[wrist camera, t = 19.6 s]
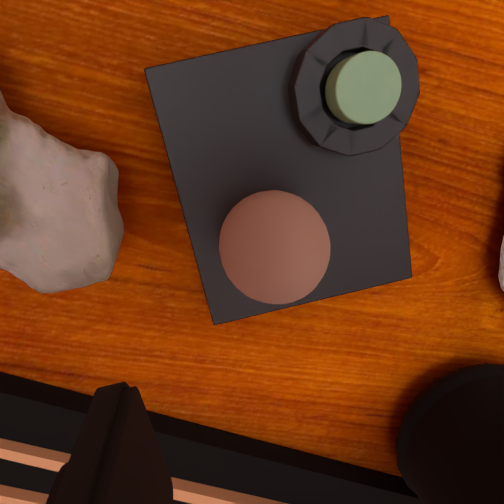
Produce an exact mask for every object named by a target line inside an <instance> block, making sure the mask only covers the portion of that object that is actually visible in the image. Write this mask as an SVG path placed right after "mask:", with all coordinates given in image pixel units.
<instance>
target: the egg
mask: <svg viewBox="0 0 504 504" xmlns="http://www.w3.org/2000/svg"><path fill="white" fill-rule="evenodd" d="M219 252H220V257H221V262H222V266H223V268H224V270H225V272H226V274H227V276H228V278H229V279H230V280H231V282H232V283H233V284H234V285H235V287H236V288H237V289H239V290H240V291H241V292H242V293H243V294H245V295H246V296H248V297H250V298H252V299H254V300H257V301H260V302H263V303H269V304H287V303H292V302H294V301H297V300H299V299H301V298H304V297H305V296H306V295H308V294H309V293H310V292H312V291H313V290H314V289H315V288H316V286H317V285H318V284H319V282H320V281H321V279H322V278H323V276H324V274H325V272H326V269H327V266H328V263H329V260H330V238H329V235H328V231H327V228H326V225H325V223H324V222H323V220H322V218H321V217H320V215H319V213H318V212H317V211H316V210H315V209H314V208H313V207H312V205H310V204H309V203H307V202H306V201H305V200H303V199H302V198H301V197H299V196H296V195H294V194H291V193H288V192H284V191H280V190H270V191H263V192H257V193H255V194H252V195H250V196H248V197H246V198H244V199H243V200H241V201H240V202H239V203H238V204H237V205H235V206H234V207H233V208H232V210H231V211H230V212H229V214H228V215H227V217H226V219H225V221H224V223H223V225H222V228H221V232H220V239H219Z"/></svg>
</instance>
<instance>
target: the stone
mask: <svg viewBox="0 0 504 504" xmlns="http://www.w3.org/2000/svg"><path fill="white" fill-rule="evenodd" d="M498 277H499V282H500V287H501V289H502V290H503V291H504V236H503V240H502V245H501V250H500V264H499V273H498Z"/></svg>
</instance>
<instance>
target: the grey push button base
mask: <svg viewBox="0 0 504 504" xmlns="http://www.w3.org/2000/svg"><path fill="white" fill-rule="evenodd" d="M364 51H378V52H381V53H383V54H385V55H387V56H388V57H390V58H391V59H392V60H393V61H394V63H395V64H396V66H397V67H398V70H399V72H400V76H401V93H400V97H399V100H398V102H397V104H396V106H395V108H394V109H393V110H392V112H391V113H390V114H389V115H388V116H386V117H385V118H384V119H382V120H381V121H378V122H376V123H373V124H352V123H346V122H343V121H341V120H339V119H338V118H337V117H335V116H334V115H333V114H332V112H331V111H330V109H329V107H328V105H327V102H326V98H325V86H326V81H327V78H328V76H329V74H330V72H331V71H332V69H333V68H334V67H335V66H336V65H337V64H338V63H339V62H340V61H342V60H343V59H345V58H347V57H350V56H353V55H355V54H358V53H361V52H364ZM144 71H145V75H146V79H147V82H148V86H149V90H150V93H151V97H152V101H153V104H154V108H155V112H156V115H157V119H158V123H159V126H160V130H161V134H162V137H163V141H164V145H165V149H166V152H167V156H168V160H169V163H170V167H171V171H172V174H173V178H174V182H175V185H176V189H177V193H178V196H179V200H180V204H181V207H182V211H183V215H184V218H185V222H186V226H187V229H188V233H189V237H190V240H191V244H192V248H193V251H194V255H195V259H196V262H197V266H198V270H199V273H200V277H201V281H202V284H203V288H204V292H205V295H206V299H207V303H208V306H209V310H210V314H211V317H212V321H213V324H214V325H217V324H221V323H226V322H230V321H234V320H238V319H242V318H246V317H251V316H255V315H259V314H263V313H267V312H271V311H275V310H280V309H284V308H288V307H292V306H296V305H300V304H305V303H309V302H313V301H317V300H321V299H325V298H330V297H334V296H338V295H342V294H346V293H350V292H355V291H359V290H363V289H367V288H371V287H375V286H380V285H384V284H388V283H392V282H396V281H400V280H404V279H409V278H412V270H411V259H410V247H409V236H408V225H407V214H406V202H405V191H404V180H403V169H402V158H401V146H400V135H399V133H400V132H401V131H402V130H403V129H404V128H405V126H406V125H407V123H408V121H409V118H410V116H411V114H412V111H413V109H414V106H415V104H416V101H417V99H418V96H419V93H420V91H419V77H418V63H417V59H416V56H415V55H414V53H413V52H412V50H411V49H410V47H409V46H408V44H407V43H406V41H405V40H404V38H403V37H402V35H401V34H400V32H399V31H398V30H397V29H396V28H393V27H391V26H390V23H389V16H388V15H386V16H382V17H377V18H373V19H372V18H369V17H362V18H358V19H353V20H349V21H344V22H339V23H335V24H333V25H331V26H329V27H328V28H326V29H322V30H318V31H313V32H308V33H304V34H299V35H295V36H290V37H286V38H281V39H276V40H272V41H267V42H263V43H258V44H254V45H249V46H244V47H240V48H235V49H231V50H226V51H222V52H217V53H212V54H208V55H203V56H199V57H194V58H190V59H185V60H180V61H176V62H171V63H167V64H162V65H157V66H153V67H148V68H145V69H144ZM270 190H280V191H284V192H288V193H291V194H294V195H296V196H299V197H301V198H302V199H303V200H305V201H306V202H307V203H309V204H310V205H312V207H313V208H314V209H315V210H316V211H317V212H318V213H319V215H320V217H321V218H322V220H323V222H324V223H325V225H326V228H327V231H328V235H329V238H330V260H329V263H328V266H327V269H326V272H325V274H324V276H323V278H322V279H321V281H320V282H319V284H318V285H317V286H316V288H315V289H314V290H313V291H312V292H310V293H309V294H308V295H306V296H305V297H304V298H301V299H299V300H297V301H294V302H292V303H287V304H269V303H263V302H260V301H257V300H254V299H252V298H250V297H248V296H246V295H245V294H243V293H242V292H241V291H240V290H239V289H237V288H236V287H235V285H234V284H233V283H232V282H231V280H230V279H229V278H228V276H227V274H226V272H225V270H224V268H223V266H222V262H221V257H220V252H219V239H220V232H221V228H222V225H223V223H224V221H225V219H226V217H227V215H228V214H229V212H230V211H231V210H232V208H233V207H234V206H235V205H237V204H238V203H239V202H240V201H241V200H243V199H244V198H246V197H248V196H250V195H252V194H255V193H257V192H263V191H270Z"/></svg>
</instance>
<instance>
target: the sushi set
mask: <svg viewBox="0 0 504 504" xmlns="http://www.w3.org/2000/svg"><path fill="white" fill-rule="evenodd" d="M92 399H93V397H92V396H89V395H85V394H81V393H77V392H74V391H70V390H66V389H62V388H58V387H55V386H51V385H47V384H43V383H39V382H36V381H32V380H28V379H24V378H21V377H17V376H13V375H9V374H5V373H2V372H0V504H46V501H47V499H48V496H49V494H50V491H51V489H52V486H53V484H54V481H55V479H56V476H57V474H58V472H59V470H60V468H61V467H62V466H63V465H64V464H65V463H68V462H69V459H70V457H71V454H72V451H73V449H74V446H75V443H76V441H77V438H78V436H79V433H80V430H81V428H82V425H83V423H84V420H85V417H86V415H87V412H88V410H89V407H90V404H91V402H92ZM147 414H148V417H149V420H150V422H151V425H152V428H153V430H154V433H155V436H156V438H157V441H158V444H159V447H160V449H161V452H162V455H163V457H164V460H165V463H166V465H167V468H168V471H169V474H170V476H171V479H172V484H173V504H422V502H421V501H420V499H419V497H418V495H417V494H416V493H415V492H413V491H412V490H411V489H410V488H409V487H408V486H407V484H406V482H405V480H404V479H403V478H399V477H395V476H392V475H388V474H384V473H380V472H376V471H373V470H369V469H365V468H361V467H358V466H354V465H350V464H346V463H342V462H339V461H335V460H331V459H327V458H323V457H320V456H316V455H312V454H308V453H305V452H301V451H297V450H293V449H289V448H286V447H282V446H278V445H274V444H270V443H267V442H263V441H259V440H255V439H252V438H248V437H244V436H240V435H236V434H233V433H229V432H225V431H221V430H217V429H214V428H210V427H206V426H202V425H199V424H195V423H191V422H187V421H183V420H180V419H176V418H172V417H168V416H164V415H161V414H157V413H153V412H149V411H147Z"/></svg>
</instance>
